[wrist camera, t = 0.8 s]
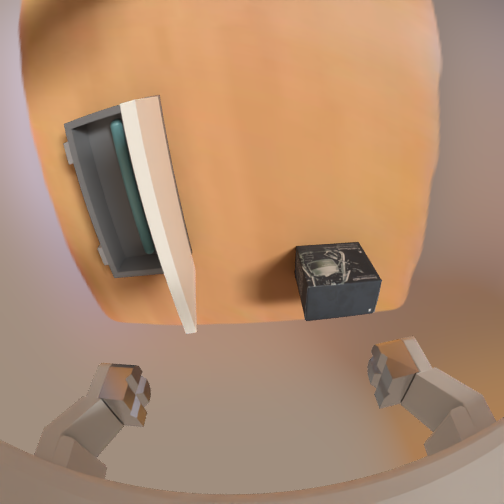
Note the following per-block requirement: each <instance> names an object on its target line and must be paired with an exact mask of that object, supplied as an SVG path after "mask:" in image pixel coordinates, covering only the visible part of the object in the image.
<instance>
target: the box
mask: <svg viewBox="0 0 504 504" xmlns="http://www.w3.org/2000/svg"><path fill="white" fill-rule="evenodd" d="M295 278H296V281H297V285H298V290H299V294H300V298H301V303H302V307H303V311H304V317H305V320H306V321H311V320H320V319H330V318H339V317H347V316H355V315H362V314H370V313H373V312H375V307H376V305H377V301H378V296H379V292H380V287H381V282H382V280H381V279H380V277H379V275H378V273H377V272H376V270H375V268H374V267H373V265H372V263H371V262H370V260H369V258H368V257H367V255H366V254H365V252H364V250H363V249H362V247H361V246H360V244H359V242H352V243H337V244H322V245H307V246H297V247H296V258H295Z"/></svg>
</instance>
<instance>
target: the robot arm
mask: <svg viewBox="0 0 504 504" xmlns="http://www.w3.org/2000/svg"><path fill="white" fill-rule="evenodd" d="M372 355H373V357H372V358H371V359H370V360H369V363H368V377H369V380H370V383H371V385H373V386H374V387H375V388H376V391H375V394H374V395H375V397H376V400H377V403H378V405H379V408H384V407H388V406H392V405H396V404H400V403H401V405H402V406H403V407H404V408H405V409H407V410H408V411H409V412H410V413H411V414H412V415H414V416H415V417H416V418H417V419H418V420H420V421H421V422H422V423H423V424H424V425H426V426H427V427H428V428H429V429H430V430H432V431H433V433H432V435H431V436H430V437H429V438H428V439H427V440H426V442H425V443H424V446H425V449H426V452H427V455H428V456H427V457H424V458H422V459H419V460H417V461H414V462H411V463H409V464H406V465H403V466H400V467H397V468H394V469H391V470H388V471H385V472H381V473H378V474H375V475H371V476H367V477H364V478H359V479H355V480H351V481H347V482H343V483H337V484H332V485H327V486H322V487H316V488H309V489H302V490H295V491H287V492H275V493H263V494H197V493H185V492H174V491H166V490H158V489H151V488H145V487H139V486H133V485H129V484H124V483H119V482H115V481H110V480H106V479H105V475H106V470H107V467H106V465H105V464H104V463H102V462H101V461H100V460H98V459H97V457H98V456H99V454H100V453H101V452H102V451H103V450H104V448H105V447H106V446H107V445H108V444H109V443H110V442H111V441H112V439H113V438H114V437H115V436H116V435H117V434H118V433H119V431H120V430H121V429H122V428H123V427H124V426H123V425H127V426H138V427H144V424H145V419H146V415H147V412H146V410H145V408H144V407H145V406H146V405H147V404H148V403H149V401H150V397H151V390H150V385H149V383H148V381H147V379H146V378H144V377H143V376H141V374H142V370H141V368H140V367H139V366H137V365H122V364H110V363H101V364H100V365H99V366H98V368H97V370H96V373H95V375H94V378H93V380H92V383H91V385H90V388H89V390H88V393H87V395H86V397H85V396H83V397H81V398H80V399H79V400H78V401H77V402H75V403H74V404H73V405H72V406H71V407H69V408H68V409H67V410H66V411H64V412H63V413H62V414H61V415H60V416H58V417H57V418H56V419H55V420H53V421H52V422H51V423H50V424H49V425H47V426H46V427H45V428H44V429H43V432H42V435H41V437H40V440H39V443H38V445H37V448H36V451H35V454H34V455H32V454H29V453H27V452H25V451H23V450H20V449H18V448H16V447H14V446H12V445H10V444H8V443H6V442H4V441H2V440H0V504H504V417H503V418H501V419H500V420H498V421H496V420H495V418H494V416H493V414H492V412H491V411H490V408H489V407H488V405H487V403H486V401H485V399H484V397H483V395H482V394H480V393H478V392H477V391H475V390H473V389H472V388H470V387H468V386H466V385H465V384H463V383H461V382H459V381H458V380H456V379H455V378H453V377H451V376H449V375H448V374H446V373H444V372H443V371H441V370H439V369H438V368H436V367H435V368H432V367H431V365H430V363H429V361H428V360H427V358H426V356H425V355H424V353H423V351H422V349H421V347H420V346H419V344H418V343H417V341H416V339H415V338H414V337H413V336H411V337H406V338H402V339H397V340H392V341H388V342H384V343H380V344H375V345H374V346H373V348H372Z"/></svg>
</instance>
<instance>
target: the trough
mask: <svg viewBox="0 0 504 504" xmlns="http://www.w3.org/2000/svg"><path fill="white" fill-rule="evenodd" d="M156 96H158V99H159V105H160V111H161V117H162V123H163V128H164V134H165V139H166V144H167V149H168V154H169V159H170V164H171V169H172V174H173V178H174V183H175V188H176V192H177V197H178V201H179V206H180V210H181V214H182V218H183V223H184V227H185V231H186V235H187V239H188V243H189V247H190V251H191V255H192V249H191V245H190V241H189V237H188V233H187V229H186V224H185V220H184V216H183V212H182V207H181V203H180V198H179V194H178V189H177V185H176V180H175V175H174V171H173V166H172V161H171V156H170V151H169V146H168V140H167V135H166V130H165V124H164V119H163V113H162V107H161V101H160V95H156ZM156 96H150V97H156ZM146 98H149V97H146ZM64 127H65V131H66V136H67V140H68V142H66V143H64V148H65V152H66V156H67V159H68V163H69V164H72V163H74V167H75V171H76V174H77V177H78V181H79V184H80V187H81V191H82V194H83V197H84V200H85V203H86V206H87V209H88V212H89V215H90V218H91V221H92V223H93V226H94V229H95V232H96V234H97V237H98V239H99V242H100V245H99V247H98V248H97V249H98V251H99V254H100V256H101V258H102V261H103V263H104V265H109V267H110V269H111V271H112V274H113V276H114V278H120V277H132V276H143V275H155V274H164V272H163V269H162V266H161V263H160V260H159V257H158V254H157V251H156V247H155V244H154V241H153V238H152V235H151V231H150V228H149V225H148V221H147V218H146V214H145V211H144V207H143V203H142V200H141V196H140V192H139V189H138V185H137V181H136V177H135V173H134V169H133V165H132V161H131V156H130V152H129V148H128V143H127V138H126V134H125V129H124V124H123V119H122V114H121V108H120V105H117V106H114V107H110V108H107V109H104V110H101V111H98V112H95V113H92V114H89V115H87V116H84V117H81V118H78V119H76V120H73V121H71V122H68V123H65V124H64Z"/></svg>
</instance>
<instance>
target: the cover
mask: <svg viewBox="0 0 504 504" xmlns="http://www.w3.org/2000/svg"><path fill="white" fill-rule="evenodd" d="M120 108H121V114H122V119H123V124H124V129H125V134H126V138H127V143H128V148H129V152H130V156H131V161H132V165H133V169H134V173H135V177H136V181H137V185H138V189H139V192H140V196H141V200H142V203H143V207H144V211H145V214H146V218H147V221H148V225H149V228H150V231H151V235H152V238H153V241H154V244H155V247H156V251H157V254H158V257H159V260H160V263H161V266H162V269H163V272H164V275H165V278H166V281H167V284H168V286H169V289H170V292H171V295H172V298H173V300H174V303H175V306H176V309H177V311H178V314H179V317H180V319H181V322H182V324H183V327H184V330H185V332H186V334H189V333H196V332H197V323H196V287H195V266H194V263H193V259H192V255H191V251H190V247H189V243H188V239H187V235H186V231H185V227H184V223H183V218H182V214H181V210H180V206H179V201H178V197H177V192H176V188H175V183H174V178H173V174H172V169H171V164H170V159H169V154H168V149H167V144H166V139H165V134H164V128H163V123H162V117H161V111H160V105H159V99H158V96H156V97H149V98H142V99H136V100H132V101H128V102H125V103H121V104H120Z"/></svg>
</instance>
